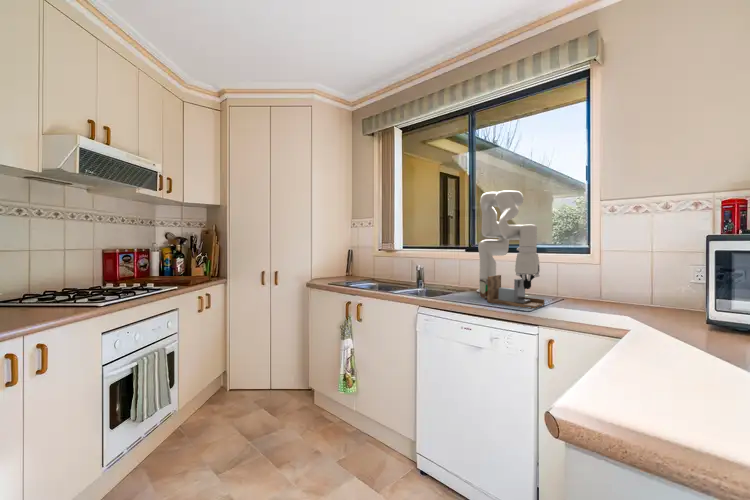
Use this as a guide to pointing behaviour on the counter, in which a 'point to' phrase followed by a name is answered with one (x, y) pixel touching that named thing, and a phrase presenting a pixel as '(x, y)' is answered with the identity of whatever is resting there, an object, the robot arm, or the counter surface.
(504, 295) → the grey rectangular block
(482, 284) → the food container
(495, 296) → the rack
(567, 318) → the counter surface
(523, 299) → the bookend
